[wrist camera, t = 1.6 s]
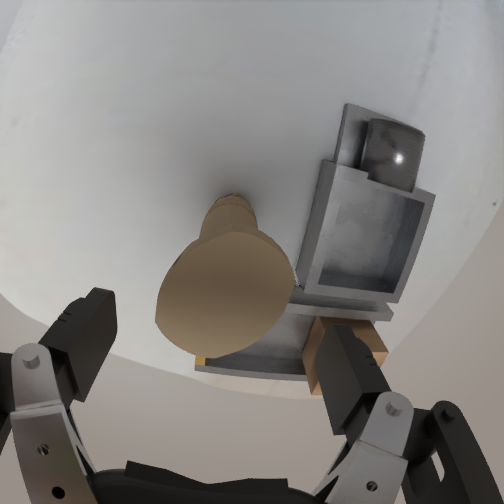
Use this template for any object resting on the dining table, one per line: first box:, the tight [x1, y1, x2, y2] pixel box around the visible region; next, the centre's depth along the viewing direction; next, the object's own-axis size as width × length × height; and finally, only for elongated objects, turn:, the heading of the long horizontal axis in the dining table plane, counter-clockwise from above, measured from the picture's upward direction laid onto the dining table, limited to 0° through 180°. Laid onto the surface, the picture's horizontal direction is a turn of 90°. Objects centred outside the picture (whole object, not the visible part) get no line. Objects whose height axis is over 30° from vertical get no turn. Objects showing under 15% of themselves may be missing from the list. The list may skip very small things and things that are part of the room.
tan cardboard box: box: [302, 316, 389, 395], centre depth 27 cm, size 6×6×6 cm
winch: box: [296, 104, 436, 303], centre depth 23 cm, size 16×10×6 cm, turn 170°
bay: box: [195, 286, 394, 381], centre depth 29 cm, size 10×19×4 cm, turn 80°
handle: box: [155, 194, 296, 358], centre depth 19 cm, size 5×6×15 cm
